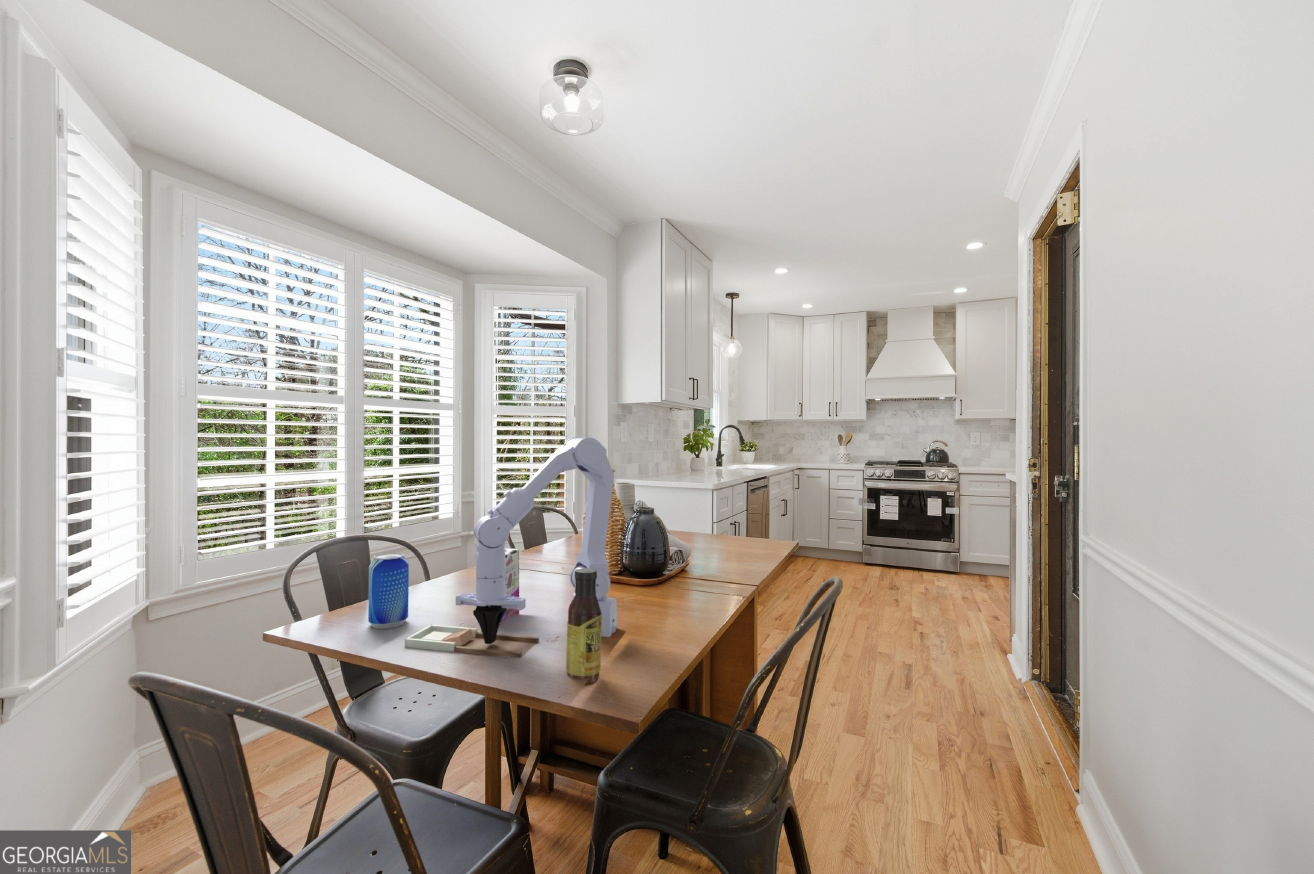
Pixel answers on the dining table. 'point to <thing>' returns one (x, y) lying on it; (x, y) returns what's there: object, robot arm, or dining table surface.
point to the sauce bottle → (584, 629)
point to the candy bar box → (511, 577)
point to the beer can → (388, 590)
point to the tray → (417, 642)
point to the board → (499, 645)
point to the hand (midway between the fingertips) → (490, 642)
